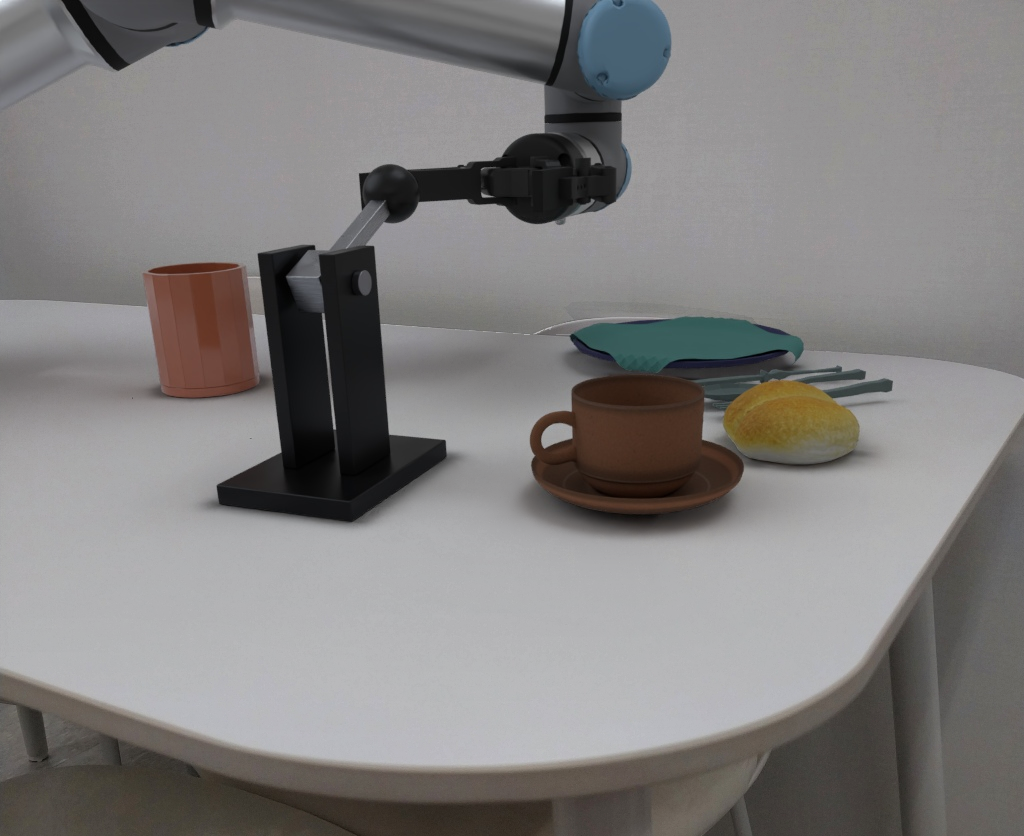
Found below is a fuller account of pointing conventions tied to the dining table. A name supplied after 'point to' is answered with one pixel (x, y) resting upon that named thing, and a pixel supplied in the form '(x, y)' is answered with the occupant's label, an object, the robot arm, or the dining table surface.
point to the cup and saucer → (634, 448)
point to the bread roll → (790, 424)
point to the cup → (202, 328)
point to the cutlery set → (710, 353)
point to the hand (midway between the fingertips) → (447, 192)
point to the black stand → (328, 397)
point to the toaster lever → (358, 229)
